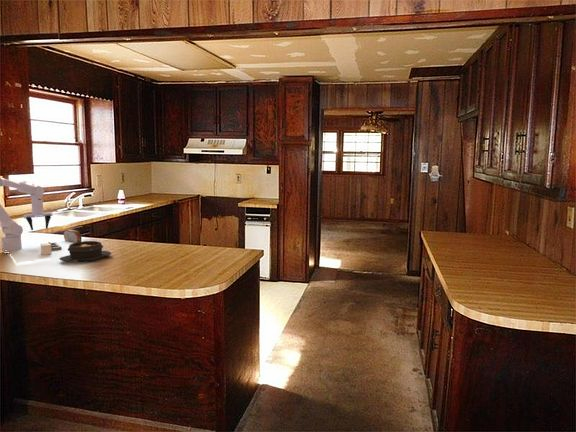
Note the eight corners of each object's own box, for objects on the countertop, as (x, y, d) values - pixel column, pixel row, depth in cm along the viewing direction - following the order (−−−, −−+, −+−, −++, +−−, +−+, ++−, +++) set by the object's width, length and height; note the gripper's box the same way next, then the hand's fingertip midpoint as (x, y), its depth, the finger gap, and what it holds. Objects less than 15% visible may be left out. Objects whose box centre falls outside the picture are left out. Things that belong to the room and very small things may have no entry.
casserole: (66, 267, 212) (65, 250, 211) (55, 260, 225) (53, 244, 224) (117, 258, 229) (116, 243, 228) (103, 252, 243) (102, 237, 241)
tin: (82, 244, 263) (81, 230, 262) (77, 245, 261) (76, 231, 259) (68, 241, 271) (67, 228, 270) (63, 242, 269) (62, 229, 267)
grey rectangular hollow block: (47, 253, 239) (47, 247, 238) (42, 249, 250) (42, 242, 250) (61, 252, 243) (61, 245, 242) (56, 247, 255) (55, 241, 254)
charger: (43, 257, 230) (42, 245, 229) (41, 256, 234) (40, 244, 233) (51, 256, 233) (50, 244, 232) (49, 254, 237) (48, 243, 236)
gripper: (24, 208, 246) (26, 231, 248) (52, 205, 255) (54, 228, 257) (22, 206, 251) (24, 229, 253) (50, 204, 260) (52, 226, 262)
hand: (39, 229), depth 256 cm, fingers open, 7 cm apart
